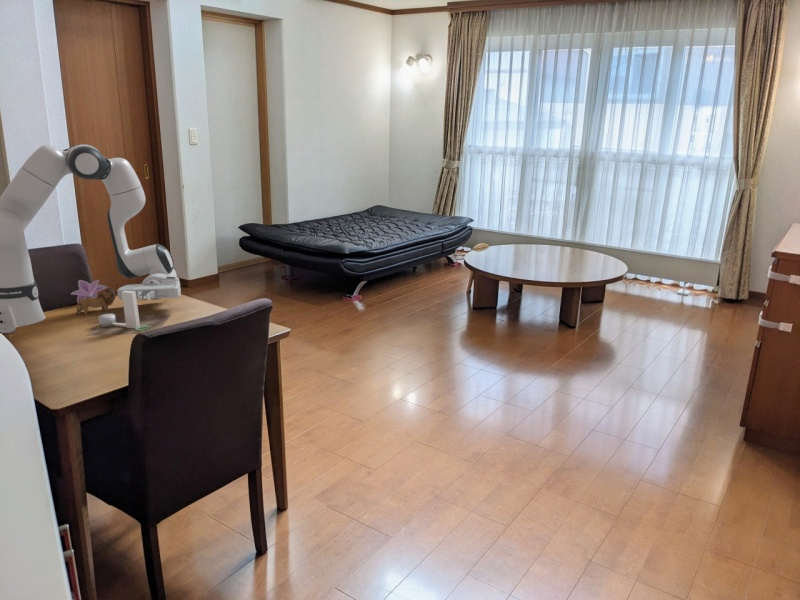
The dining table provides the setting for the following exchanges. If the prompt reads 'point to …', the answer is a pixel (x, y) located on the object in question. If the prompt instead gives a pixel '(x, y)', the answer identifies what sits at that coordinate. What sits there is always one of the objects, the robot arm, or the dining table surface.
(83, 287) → the lily
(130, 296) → the tuning peg
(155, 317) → the dial board
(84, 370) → the dining table surface
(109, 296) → the lion figurine
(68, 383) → the dining table surface
